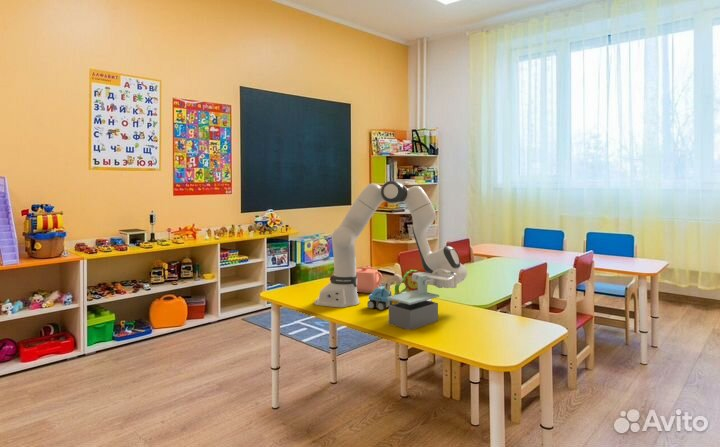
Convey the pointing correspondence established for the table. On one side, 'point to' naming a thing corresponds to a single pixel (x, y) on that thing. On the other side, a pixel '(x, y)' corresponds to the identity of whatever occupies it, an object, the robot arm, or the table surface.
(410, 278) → the toy lion
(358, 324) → the table surface
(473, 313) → the table surface
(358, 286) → the teapot
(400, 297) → the lid
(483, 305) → the table surface
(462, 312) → the table surface
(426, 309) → the tub
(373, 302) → the toy excavator
